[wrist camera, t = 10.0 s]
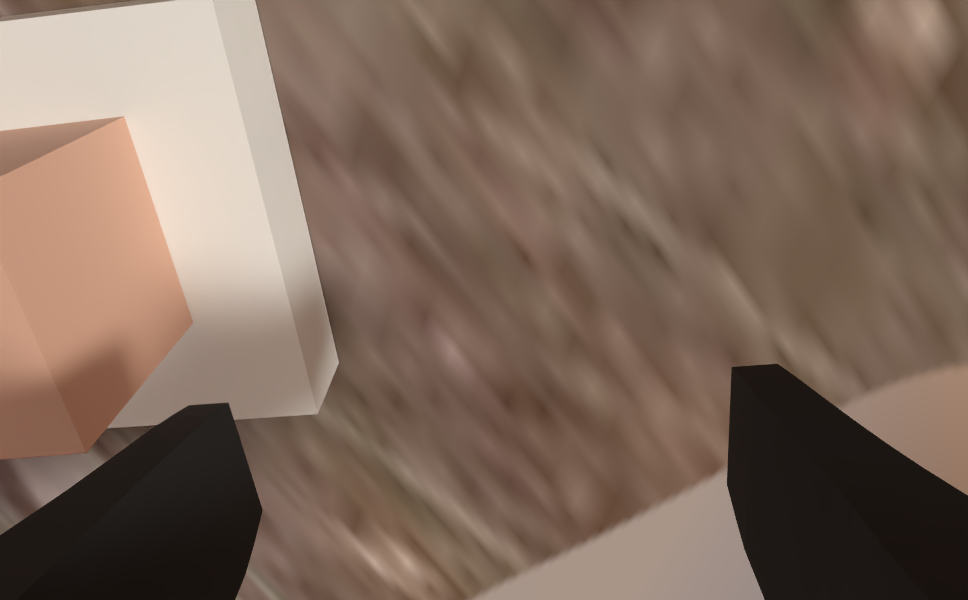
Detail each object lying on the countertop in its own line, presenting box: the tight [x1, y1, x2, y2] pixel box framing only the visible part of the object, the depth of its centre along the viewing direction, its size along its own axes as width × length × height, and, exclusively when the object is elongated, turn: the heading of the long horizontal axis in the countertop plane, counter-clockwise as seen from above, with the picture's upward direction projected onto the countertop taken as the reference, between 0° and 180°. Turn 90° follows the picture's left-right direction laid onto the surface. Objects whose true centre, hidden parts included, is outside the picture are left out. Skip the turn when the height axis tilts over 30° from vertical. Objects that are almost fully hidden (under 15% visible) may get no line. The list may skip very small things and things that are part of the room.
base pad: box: [0, 0, 339, 428], centre depth 19 cm, size 10×10×2 cm
